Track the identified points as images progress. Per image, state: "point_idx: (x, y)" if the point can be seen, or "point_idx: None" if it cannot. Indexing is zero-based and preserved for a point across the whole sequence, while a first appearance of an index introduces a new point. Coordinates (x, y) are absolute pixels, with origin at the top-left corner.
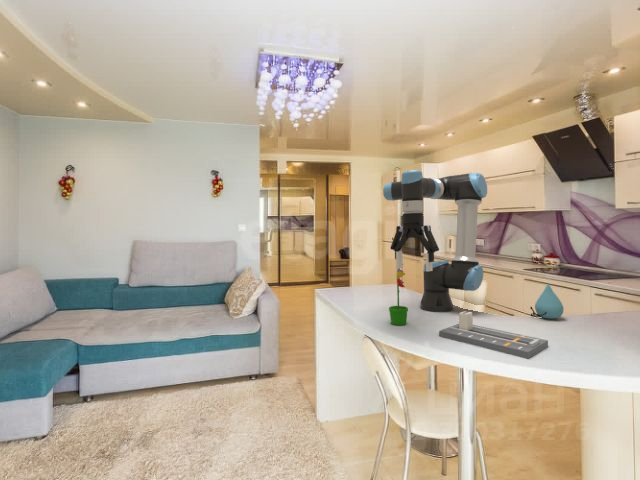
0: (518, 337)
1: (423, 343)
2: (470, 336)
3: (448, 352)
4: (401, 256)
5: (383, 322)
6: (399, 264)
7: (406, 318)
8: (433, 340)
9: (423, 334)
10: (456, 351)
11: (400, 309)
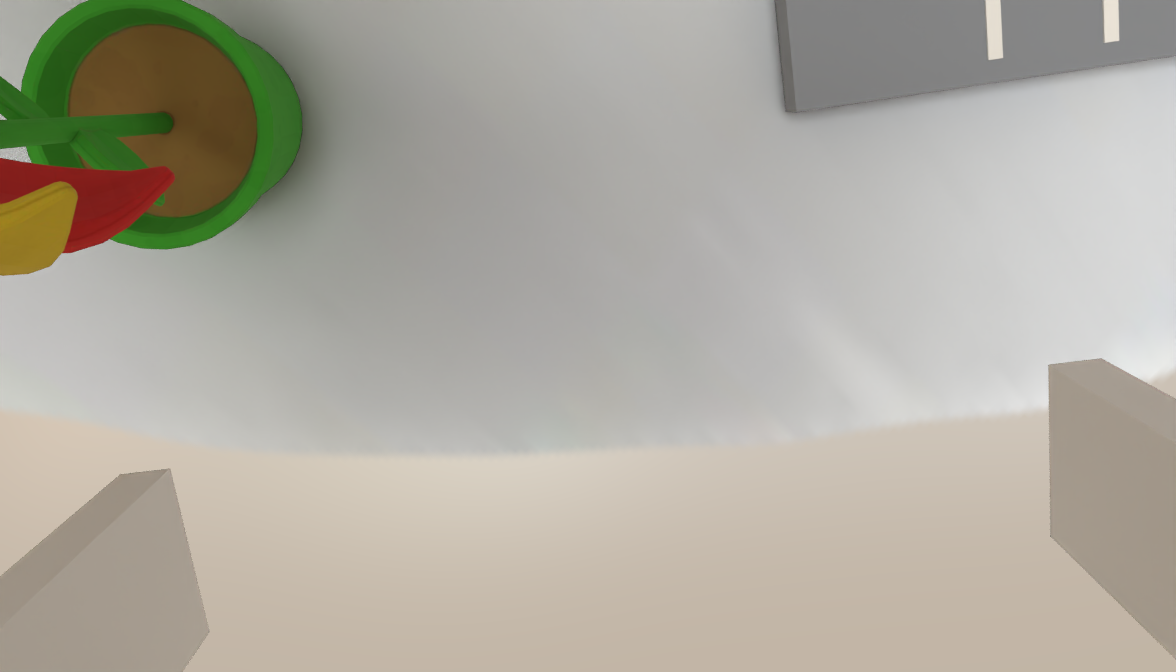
0: None
1: (833, 385)
2: (1117, 19)
3: None
4: (7, 667)
5: None
6: (157, 628)
7: (271, 65)
8: (834, 254)
9: (657, 193)
10: (1128, 317)
11: (113, 44)
